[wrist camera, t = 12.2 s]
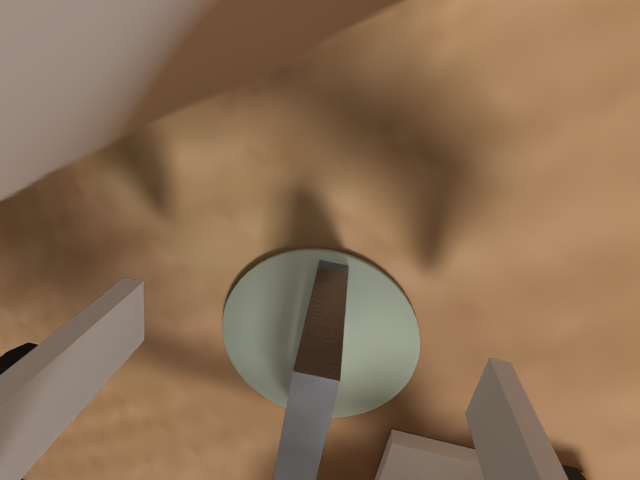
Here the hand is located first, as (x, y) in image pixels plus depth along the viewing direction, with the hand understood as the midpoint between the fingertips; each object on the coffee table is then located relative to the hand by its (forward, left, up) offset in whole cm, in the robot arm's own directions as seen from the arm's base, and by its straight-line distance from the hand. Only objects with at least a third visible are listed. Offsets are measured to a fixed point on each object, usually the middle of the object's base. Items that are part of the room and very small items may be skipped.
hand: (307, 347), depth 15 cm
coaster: (0, -4, -6) cm, 7 cm away
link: (0, -4, -6) cm, 7 cm away
